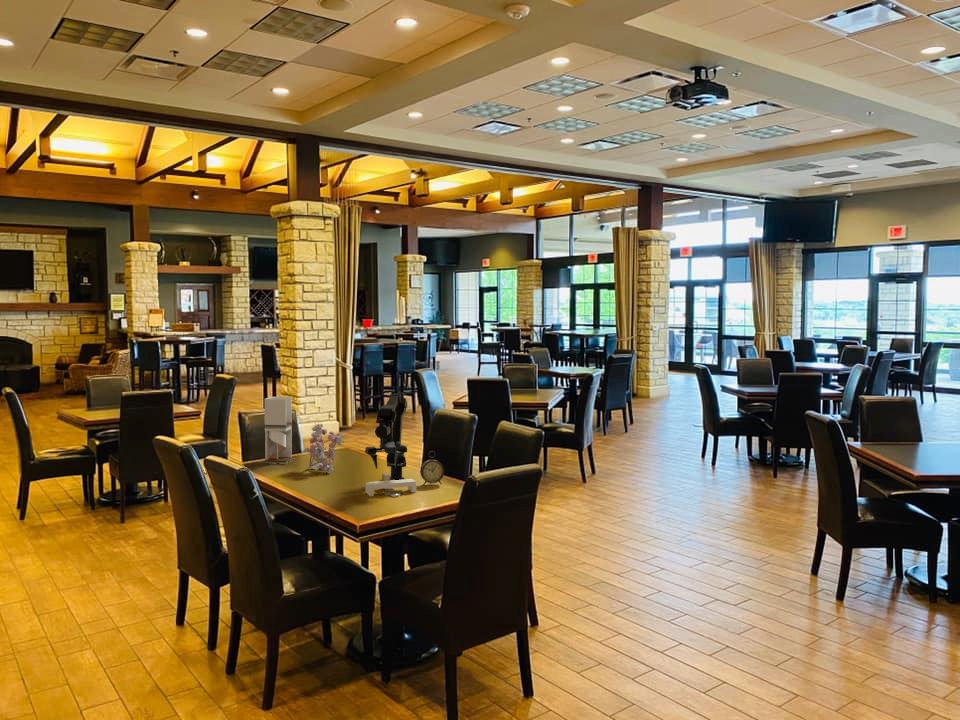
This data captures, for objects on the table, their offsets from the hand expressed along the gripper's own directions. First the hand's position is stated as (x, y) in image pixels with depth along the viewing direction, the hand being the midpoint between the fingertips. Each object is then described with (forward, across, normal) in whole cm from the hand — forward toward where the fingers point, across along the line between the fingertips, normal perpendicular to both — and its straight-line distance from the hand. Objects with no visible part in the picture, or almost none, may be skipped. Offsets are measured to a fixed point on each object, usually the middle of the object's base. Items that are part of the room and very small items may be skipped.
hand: (386, 468), depth 345 cm
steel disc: (+10, 0, -14) cm, 17 cm away
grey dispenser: (+10, -37, +78) cm, 87 cm away
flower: (+10, -19, +47) cm, 52 cm away
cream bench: (+10, 0, -8) cm, 13 cm away
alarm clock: (+10, +23, +1) cm, 25 cm away
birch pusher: (+10, 0, -5) cm, 11 cm away
